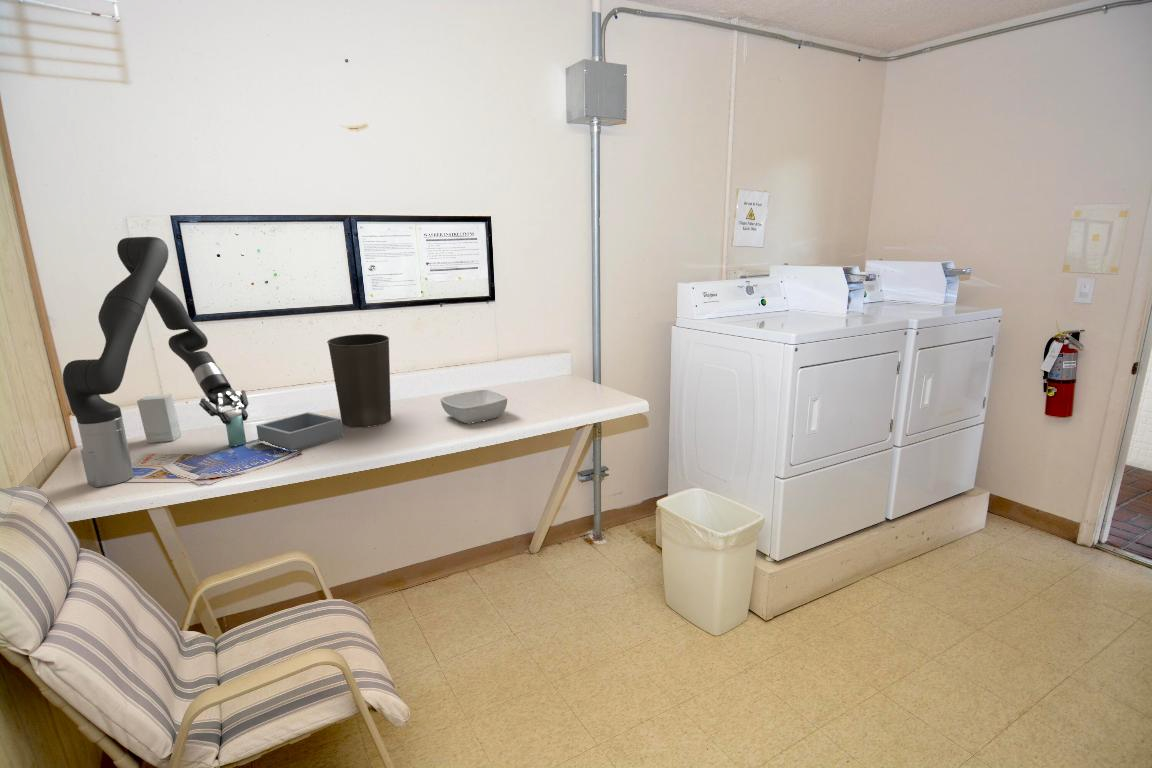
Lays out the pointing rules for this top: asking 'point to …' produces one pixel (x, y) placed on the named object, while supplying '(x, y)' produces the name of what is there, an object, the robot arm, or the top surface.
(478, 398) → the square bowl
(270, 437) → the slate bin
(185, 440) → the top surface
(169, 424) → the skincare box
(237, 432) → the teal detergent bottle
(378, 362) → the waste basket
